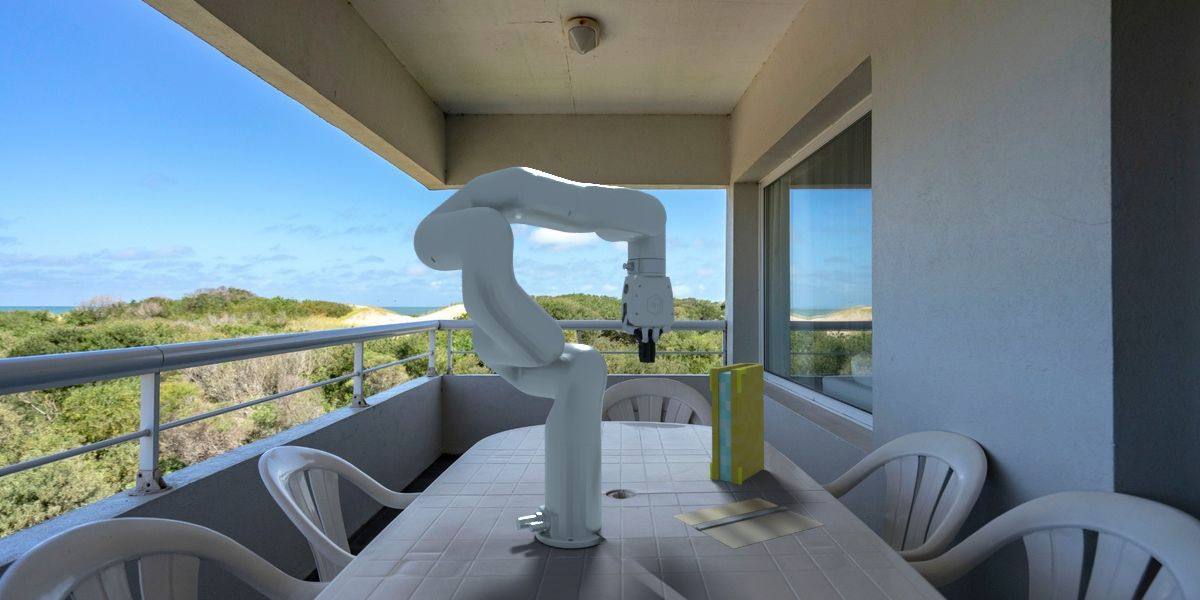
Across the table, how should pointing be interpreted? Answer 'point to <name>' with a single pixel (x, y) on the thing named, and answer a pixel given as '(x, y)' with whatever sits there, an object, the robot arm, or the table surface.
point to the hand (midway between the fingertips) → (647, 362)
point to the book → (737, 421)
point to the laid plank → (757, 526)
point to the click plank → (724, 511)
